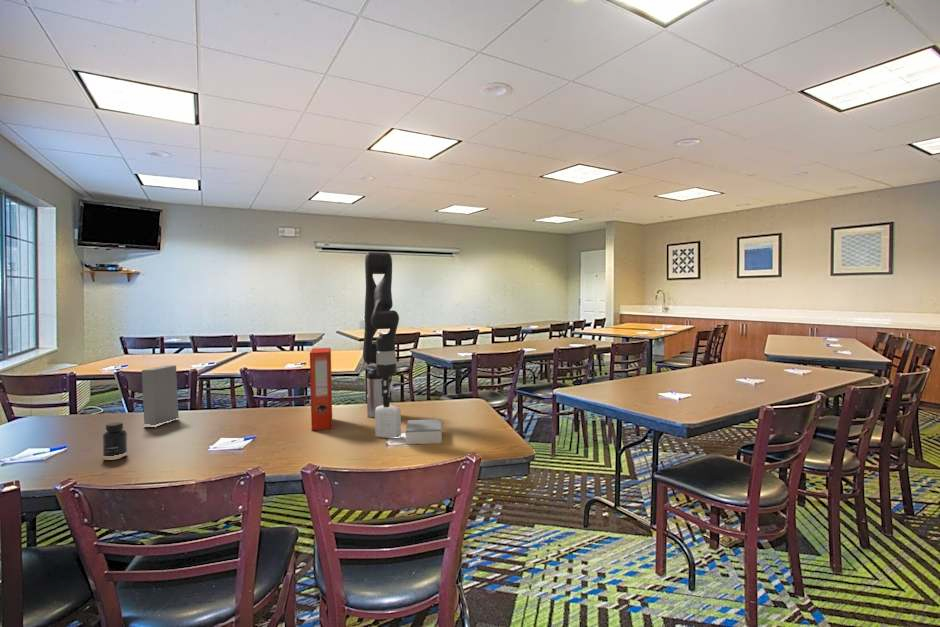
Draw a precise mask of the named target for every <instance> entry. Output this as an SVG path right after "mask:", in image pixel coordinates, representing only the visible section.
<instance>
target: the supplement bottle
mask: <svg viewBox="0 0 940 627" xmlns="http://www.w3.org/2000/svg"><path fill="white" fill-rule="evenodd" d="M123 425H124V423H123V422H110V423H108V424H105V431H106V432H104V433H103V435H102V457H103V456H114V455H119V454H123V453H125V452H127V453H128V433H127V431H126V430H125V429H124V426H123Z"/></svg>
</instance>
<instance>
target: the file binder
mask: <svg viewBox="0 0 940 627" xmlns="http://www.w3.org/2000/svg"><path fill="white" fill-rule="evenodd" d="M309 370H310V374H309V375H310V379H309V380H310V381H309V382H310V415H311V416H310V419H311V423H310V424H311V431H313V430H316V431H322V430H321V429H329V430H332V427H333V426H332V425H333V395H332V394H333V393H332V391H333V389H332V388H333V386H332V385H333V384H332V348H331V347H318V348H317V347H315V348H312V349H311V350H310V352H309Z"/></svg>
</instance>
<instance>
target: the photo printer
mask: <svg viewBox="0 0 940 627" xmlns="http://www.w3.org/2000/svg"><path fill="white" fill-rule="evenodd" d="M401 417H402V415H401V408H400V407H398V406H395V405H391V404H390V406H389V407H384V406H383V405H382V406H378V407H376V409H375V417H374V422H375V423H374V425H375V426H374V427H375V428H374V430H375V431H374V434H375V435H374V436H375V437H377V438H384V439H385V438H387V439H390V438H389V437H399V436H401V437H402V419H401Z"/></svg>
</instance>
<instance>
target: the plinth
mask: <svg viewBox="0 0 940 627" xmlns="http://www.w3.org/2000/svg"><path fill="white" fill-rule="evenodd" d="M442 437H443V436H442V419H441V418H435V419H434V418H433V419H431V418H429V419H428V418H427V419H410V420H407V424H406V430H405V442H406V443H405V445H424V444H425V445H427V444H443V441H442V440H443V439H442Z"/></svg>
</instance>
